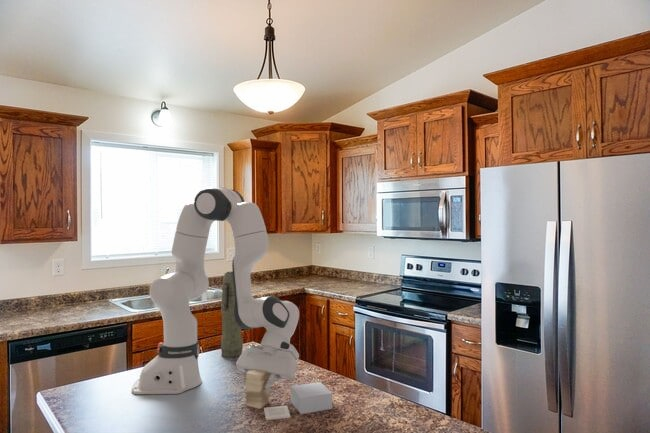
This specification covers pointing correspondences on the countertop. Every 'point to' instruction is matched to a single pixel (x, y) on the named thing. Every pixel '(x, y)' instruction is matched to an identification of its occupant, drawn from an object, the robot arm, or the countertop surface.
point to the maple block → (256, 388)
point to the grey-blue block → (311, 397)
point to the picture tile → (276, 412)
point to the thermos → (230, 321)
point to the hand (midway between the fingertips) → (256, 387)
